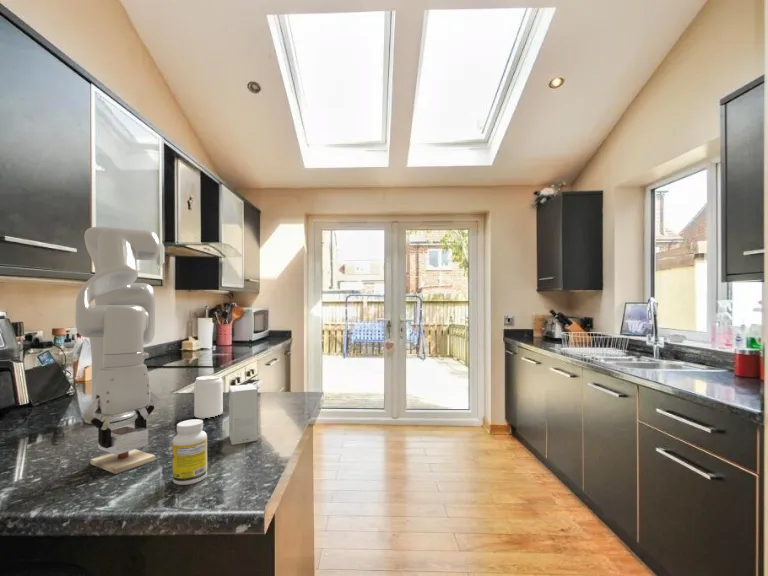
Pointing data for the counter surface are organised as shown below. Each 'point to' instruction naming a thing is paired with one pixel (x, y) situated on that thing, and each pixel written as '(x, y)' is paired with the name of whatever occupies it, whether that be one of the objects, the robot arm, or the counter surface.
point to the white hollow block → (126, 439)
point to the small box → (243, 414)
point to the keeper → (122, 460)
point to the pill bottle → (189, 453)
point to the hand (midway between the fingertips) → (123, 440)
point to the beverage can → (208, 396)
